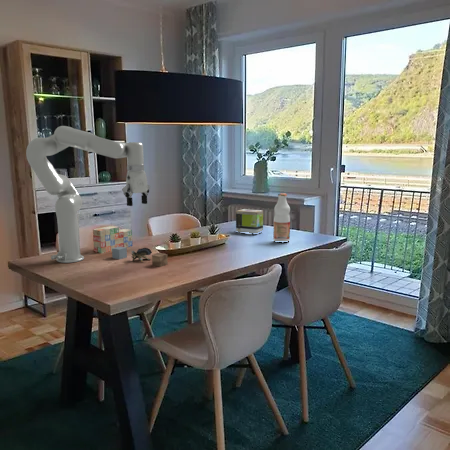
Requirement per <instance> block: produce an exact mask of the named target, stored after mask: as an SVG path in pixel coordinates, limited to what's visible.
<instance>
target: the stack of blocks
mask: <svg viewBox="0 0 450 450" xmlns="http://www.w3.org/2000/svg"><path fill="white" fill-rule="evenodd" d="M92 241H93V252H94V251H96V252H95V253H97V252H99V253H98V254H105V253H109V251H110V252H112V248H116V247H125V248H129V247H130V246H131V247H133V230H132V229H128V228H123V229H120V228H119V226H114V225H113V226H112V225H109V226H108V225H107V226H104V227H98V228H94V229H92ZM131 247H130V248H131ZM104 252H105V253H104Z"/></svg>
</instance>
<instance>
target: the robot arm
mask: <svg viewBox="0 0 450 450" xmlns="http://www.w3.org/2000/svg"><path fill="white" fill-rule="evenodd" d="M69 147H71V148H75V149H79V150H83V151H86V152H89V153H93V154H97V155H101V156H104V157H108V158H112V159H123V158H126V161H127V166H126V170H127V172H126V178H125V179H126V181H125V183H126V184H125V186H123V188H122V187H121V188H122V192H123V193H122V194H123V195H124V197H125V198H126V206H128V207H133V205H134V204H133V197H132V196H133V194H140V193H141V196H140V197H141V204H143V205H147V204H148V196H149V193H150V189H151V186H150V184H148V179H147V178H148V177H147V173H146V171H145V165H144V163H145V162H144V161H145V160H144V144H143V143H142V142H139V141H135V142H133V141H132V142H131V141H130V142H124V141H123V142H122V141H115V140H111V139H107V138H103V137H101V136H97V135H96V134H94V133H92V132H88V131H84V130H82V129H81V130H80V129H77V128H73V127H71V126H67V125H60V126H58V127H57V128H55V130H54V132H53V134H51V135H49V136H48V137H36V138H33V139H32V140H30V142H29V143H28V145H27V147H26V149H25V150H26V151H25V152H26V160H27V161H28V162H27V163H28V164H29V166H30V168H31V169H32V170H33V172H34V174H35V175H36V177H37V179H38V180H39V182H40V183H41V184H42V186H43V187H44V189H45V191H46V192H47V193H48V194H49V195H50V196H57V197H58V198H57V200H56V201H55V205H54V210H55V214H56V215H55V216H56V219H57V220H56V221H57V222H56V223H57V234H58V236H57V237H58V248H59V251H57V253H56V254H53V255H51V256H50V259H51V260H56V262H58V263H63V264H69V263H70V264H71V263H76V262H81V261H83V260H84V259H85V256H84V255H82V254H81V240H80V224H79V222H80V221H79V217H78V211H80V210H81V209H82V207H83V199H82V197H81V195H80V193H79V192H78V191H77V189H76V188H75V186H74V184H73V183H72V181H71V180H70V178H68V176H66V175H64V174H59V173H58V171H57V170H56V169H55V167H54V165H53V164H52V163H51V162H50V161H49V159H48V158H47V157H49V156H53V155H56V154H58V153H59V152H62V151H64V150H66V149H67V148H69Z"/></svg>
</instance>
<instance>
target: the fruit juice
mask: <svg viewBox="0 0 450 450" xmlns="http://www.w3.org/2000/svg"><path fill="white" fill-rule="evenodd" d="M277 196H278V199H277V202H276V204H275V206H274V208H273V212H274V216H273V239H272V240H274V241H289V240H290V241H291V238H290V237H291V215H290V213H291V207H290V205H289V203H288V201H287V200H288V199H287V196H288V194H287V193H277ZM274 241H273V242H274ZM290 241H289V242H290Z"/></svg>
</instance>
